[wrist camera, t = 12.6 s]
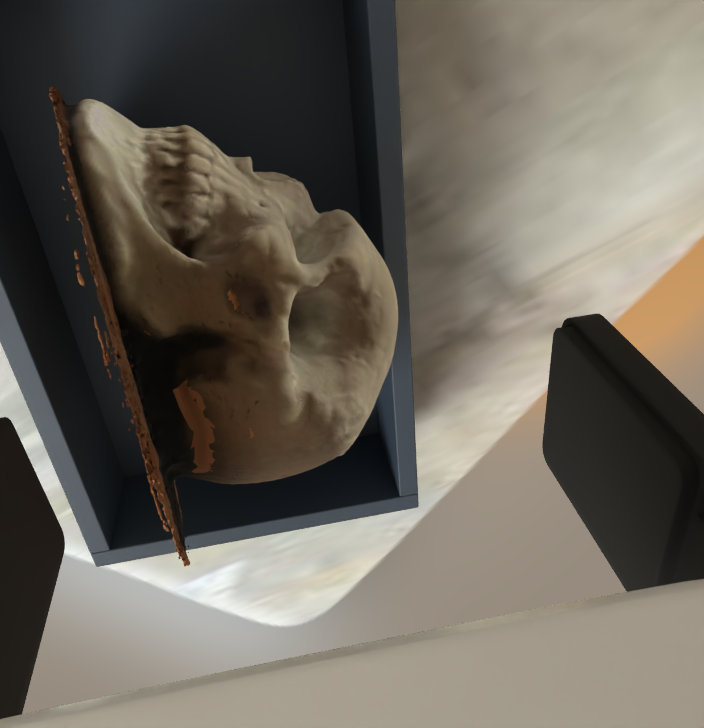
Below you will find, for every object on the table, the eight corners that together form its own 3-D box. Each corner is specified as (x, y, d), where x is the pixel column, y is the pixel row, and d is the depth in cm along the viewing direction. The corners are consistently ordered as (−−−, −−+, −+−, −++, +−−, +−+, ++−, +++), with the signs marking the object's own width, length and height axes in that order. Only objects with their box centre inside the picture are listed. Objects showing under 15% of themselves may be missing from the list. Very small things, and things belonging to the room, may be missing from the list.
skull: (28, 24, 9) (370, 9, 17) (-256, 168, 14) (104, 105, 22) (287, 682, 13) (461, 421, 21) (-8, 599, 18) (219, 416, 26)
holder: (-75, -28, 18) (-158, -28, 14) (357, -71, 19) (391, -81, 15) (114, 483, 27) (95, 567, 24) (392, 434, 29) (418, 507, 25)
